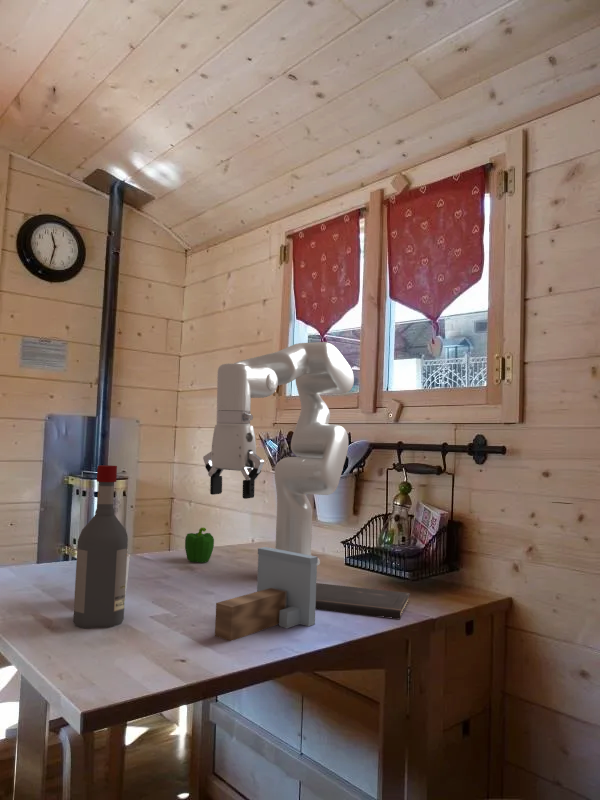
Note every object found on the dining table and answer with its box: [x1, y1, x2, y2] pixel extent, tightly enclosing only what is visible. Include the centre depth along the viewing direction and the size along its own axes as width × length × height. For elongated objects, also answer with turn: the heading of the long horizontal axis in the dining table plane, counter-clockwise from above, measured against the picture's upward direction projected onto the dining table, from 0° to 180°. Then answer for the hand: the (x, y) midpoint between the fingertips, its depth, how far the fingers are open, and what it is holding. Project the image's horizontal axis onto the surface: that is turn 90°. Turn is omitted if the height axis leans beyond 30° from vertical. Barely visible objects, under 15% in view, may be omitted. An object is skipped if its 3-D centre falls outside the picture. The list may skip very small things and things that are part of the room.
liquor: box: [72, 464, 129, 629], centre depth 119 cm, size 9×9×30 cm
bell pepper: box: [184, 527, 215, 564], centre depth 177 cm, size 8×8×10 cm
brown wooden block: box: [214, 588, 287, 642], centre depth 117 cm, size 16×4×6 cm, turn 143°
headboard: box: [256, 546, 319, 629], centre depth 124 cm, size 6×14×13 cm, turn 52°
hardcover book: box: [315, 582, 411, 619], centre depth 138 cm, size 16×23×2 cm
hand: (231, 495), depth 136 cm, fingers open, 9 cm apart
